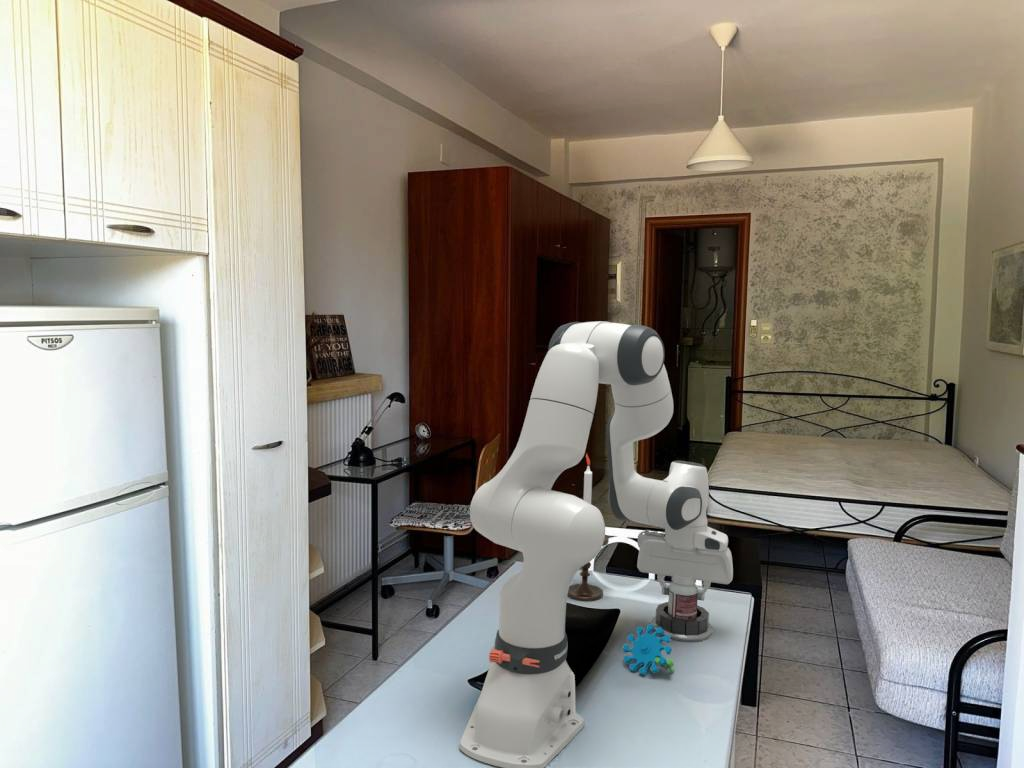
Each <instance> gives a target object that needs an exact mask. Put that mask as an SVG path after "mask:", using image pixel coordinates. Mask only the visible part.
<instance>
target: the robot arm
mask: <svg viewBox="0 0 1024 768" xmlns="http://www.w3.org/2000/svg"><path fill="white" fill-rule="evenodd" d="M665 351H666V349H665V345H664V341H663V340H662V338H661V336H660V335H659V334H658V332H657V331H656V330H655V329H653V328H652V327H649V326H646V325H643V324H637V323H635V324H625V323H619V322H610V321H606V320H605V321H601V320H599V321H585V322H580V321H573V322H572V321H571V322H568V323H566V324H562V325H560V326H559V327H557V329H556V330H555V331H554V333H553V334H552V337H551V338H550V341H549V344H548V351H547V352H546V354H545V356H544V358H543V361H542V364H541V366H540V368H539V371H538V373H537V376H536V378H535V382H534V385H533V388H532V390H531V391H532V392H531V395H530V398H529V399H530V400H529V402H528V406H527V411H526V414H525V418H524V422H523V426H522V428H521V431H520V434H519V435H520V436H519V438H518V441H517V443H516V447H515V448H514V449H513V452H512V454H511V455H510V457H509V458H508V460H507V462H506V464H505V465H504V466H503V468H502V469H501V470H500V471H499V472H498V473H497V474H496V475H495V476H494V477H493V478H492V479H490V480H489V481H486V482H485V483H484V484H482V485H481V486H480V487H478V489H477V490H476V491H475V493H474V494H473V497H472V500H471V501H470V507H469V518H470V523H471V525H472V527H473V528H474V530H475V531H476V532H478V533H479V534H480V535H481V536H483V537H485V538H486V539H488V540H489V541H491V542H493V544H496V545H500V546H503V547H506V548H508V549H512V550H515V551H518V552H521V553H522V556H523V564H522V566H521V567H522V568H521V571H520V572H518V573H515V574H514V575H512V576H510V578H508V579H507V580H506V581H505V582H504V583H503V584H502V586H501V587H500V588H501V589H500V591H499V605H498V606H499V607H498V608H499V609H498V613H499V614H498V629H497V631H496V636H495V640H494V643H493V644H494V645H493V648H491V649H490V651H489V655H488V656H489V657H488V660H489V662H490V665H489V668H488V671H487V674H486V677H485V679H484V682H483V686H482V688H481V692H480V696H479V697H478V699H477V701H476V703H475V706H474V708H473V710H472V713H471V715H470V717H469V719H468V722H467V725H466V727H465V728H464V730H463V733H462V737H461V738H460V741H459V747H458V748H459V750H460V751H461V752H462V753H464V754H465V755H466V756H468V757H470V758H472V759H474V760H476V761H479V762H481V763H485V764H488V765H492V766H496V767H500V768H546V766H548V765H549V763H551V762H552V760H553V759H554V758H555V757H556V756H557V755H558V754H559V753H560V752H561V751H562V750H563V749H564V748H565V747H567V745H568V744H569V743H570V742H571V741H572V740H573V738H574V737H575V736H577V734H578V733H580V732H581V730H582V729H583V728H584V727H585V721H584V719H585V718H583V716H581V715H580V714H579V713H577V711H576V680H575V679H576V677H575V676H576V675H575V674H574V672H573V671H572V669H571V667H570V666H569V664H568V662H567V660H566V659H567V657H568V649H569V648H568V647H569V646H568V635H567V633H566V616H567V615H566V612H567V599H568V596H567V594H568V589H569V586H571V584H572V581H573V579H574V577H575V575H576V574H577V572H578V571H579V570H580V569H582V568H581V567H582V566H584V565H585V564H587V563H589V562H590V563H591V561H593V560H594V559H595V557H597V555H598V554H599V553H600V551H601V549H602V547H603V546H602V545H603V542H604V538H605V535H606V524H605V520H604V517H603V514H602V512H601V511H600V509H599V508H598V507H596V506H595V505H594V504H592V503H591V504H590V503H588V502H586V501H584V499H582V498H580V497H578V496H576V495H573V494H571V493H570V494H569V493H565V492H562V491H557V490H552V488H553V486H554V483H555V482H556V480H557V479H558V478H559V476H560V475H561V474H562V473H563V472H564V471H565V470H567V469H570V468H573V467H574V466H576V465H578V464H579V463H580V462H581V460H582V459H583V458H584V456H585V453H586V449H587V444H588V440H589V437H590V430H591V427H592V422H593V419H594V414H595V409H596V405H597V398H598V391H599V384H603V385H611V386H610V387H611V391H612V396H613V402H614V412H613V413H611V415H610V416H609V418H608V420H607V424H606V431H605V432H606V433H605V434H606V435H605V437H606V453H607V464H608V479H609V481H608V482H609V483H608V492H607V502H608V506H609V508H610V510H611V512H612V514H613V516H614V517H615V518H616V519H618V520H620V521H623V522H631V523H639V524H643V525H646V526H651V527H655V528H662V529H664V531H660V530H657V531H656V530H651V529H645V530H644V531H641V532H639V534H638V536H637V546H638V548H639V549H638V550H639V551H638V554H637V555H638V556H637V564H636V567H637V569H638V571H639V572H641V573H646V574H654V575H657V577H656V578H657V579H656V580H657V581H658V583H659V585H660V587H661V594H662V595H666V596H669V585H670V584H666V581H665V577H666V576H667V577H672V576H674V575H675V574H676V575H682V576H689V577H692V579H694V580H696V581H702V585H703V588H702V589H698V592H697V601H698V600H699V601H705V598H706V592H707V591H708V589H709V588H710V587H711V583H714V584H715V583H716V584H722V585H729V584H730V583H731V582H732V581H733V578H734V567H733V566H734V565H733V556H732V551H731V550H730V548H729V546H728V545H729V537H728V535H727V534H726V533H724V532H721V531H719V530H717V529H715V528H712V527H710V526H708V518H707V517H708V516H707V510H708V506H709V503H710V502H709V496H710V494H709V493H710V491H709V489H710V488H709V487H710V486H709V485H710V484H709V474H708V470H707V467H706V466H705V465H704V464H701V463H698V462H691V461H685V460H674V461H672V462H671V463H670V467H669V471H668V476H667V477H666V478H664V479H663V480H660V479H654V478H649V477H645V476H643V475H640V474H639V473H637V471H636V470H635V461H634V459H635V457H634V443H635V442H638V441H641V440H645V439H646V440H647V439H649V438H651V437H653V436H655V435H657V434H658V433H660V432H662V430H664V428H666V427H667V426H668V425H669V423H670V421H671V419H672V418H673V414H674V398H673V394H672V388H671V384H670V380H669V377H668V371H667V369H666V366H665V364H664V362H665V355H666V353H665Z"/></svg>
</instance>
